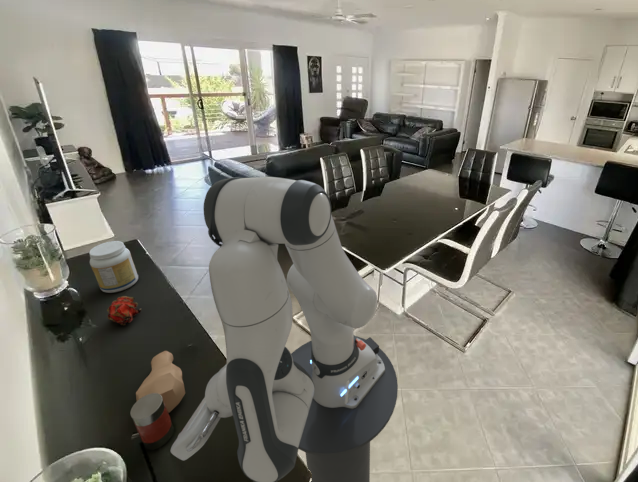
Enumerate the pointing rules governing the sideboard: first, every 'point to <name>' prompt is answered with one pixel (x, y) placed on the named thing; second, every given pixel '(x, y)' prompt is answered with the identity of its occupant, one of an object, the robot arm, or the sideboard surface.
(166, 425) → the tin
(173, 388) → the squash
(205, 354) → the sideboard surface
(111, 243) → the supplement tub
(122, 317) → the dragon fruit
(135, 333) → the sideboard surface
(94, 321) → the sideboard surface
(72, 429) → the sideboard surface
